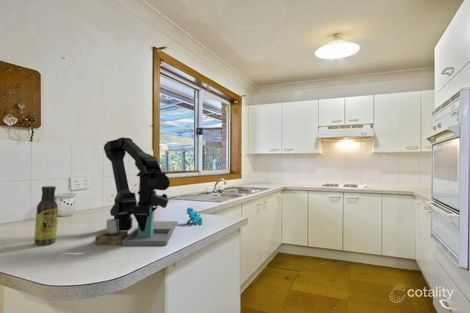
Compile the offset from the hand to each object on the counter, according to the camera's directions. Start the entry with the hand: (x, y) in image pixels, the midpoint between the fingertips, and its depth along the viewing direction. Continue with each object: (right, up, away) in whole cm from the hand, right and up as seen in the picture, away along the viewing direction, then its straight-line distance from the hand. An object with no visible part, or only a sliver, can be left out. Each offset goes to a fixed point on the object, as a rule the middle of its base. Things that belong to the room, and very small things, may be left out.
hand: (145, 228), depth 109 cm
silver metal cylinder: (-9, -3, -9) cm, 13 cm away
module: (0, -3, 0) cm, 3 cm away
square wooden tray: (-9, -3, -9) cm, 13 cm away
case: (+2, -3, +5) cm, 6 cm away
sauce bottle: (-31, -2, -12) cm, 33 cm away
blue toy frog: (+16, -4, +24) cm, 29 cm away
